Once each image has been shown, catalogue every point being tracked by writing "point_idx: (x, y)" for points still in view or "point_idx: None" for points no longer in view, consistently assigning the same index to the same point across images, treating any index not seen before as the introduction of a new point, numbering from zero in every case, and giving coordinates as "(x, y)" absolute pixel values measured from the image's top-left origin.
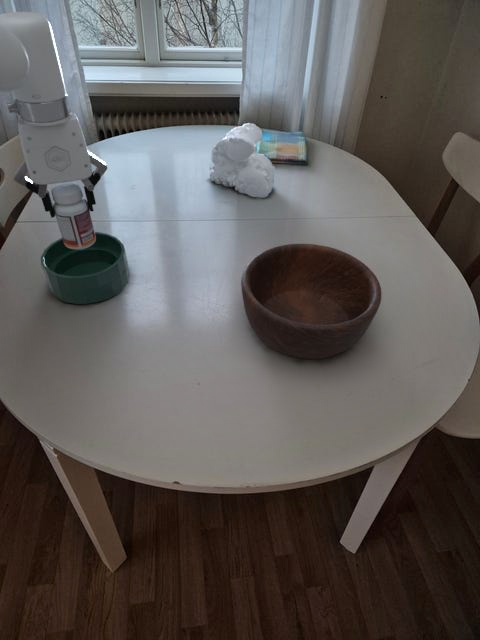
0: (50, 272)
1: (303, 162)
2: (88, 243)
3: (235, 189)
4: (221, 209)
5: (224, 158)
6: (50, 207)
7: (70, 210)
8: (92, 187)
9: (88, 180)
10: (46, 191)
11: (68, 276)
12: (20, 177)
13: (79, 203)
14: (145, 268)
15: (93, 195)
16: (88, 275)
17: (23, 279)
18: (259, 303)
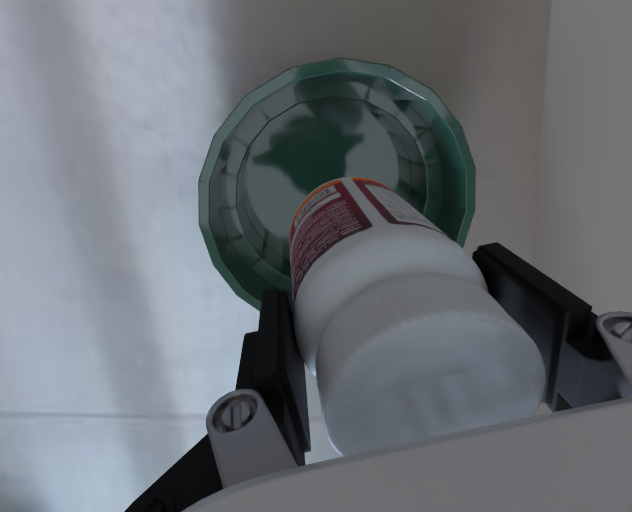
0: (448, 113)
1: None
2: (313, 193)
3: None
4: (7, 454)
5: None
6: (522, 270)
7: (394, 245)
8: (223, 418)
9: (229, 479)
10: (588, 371)
11: (387, 74)
12: None
13: (337, 309)
14: (179, 227)
15: (242, 372)
16: (315, 68)
17: (493, 216)
18: None
